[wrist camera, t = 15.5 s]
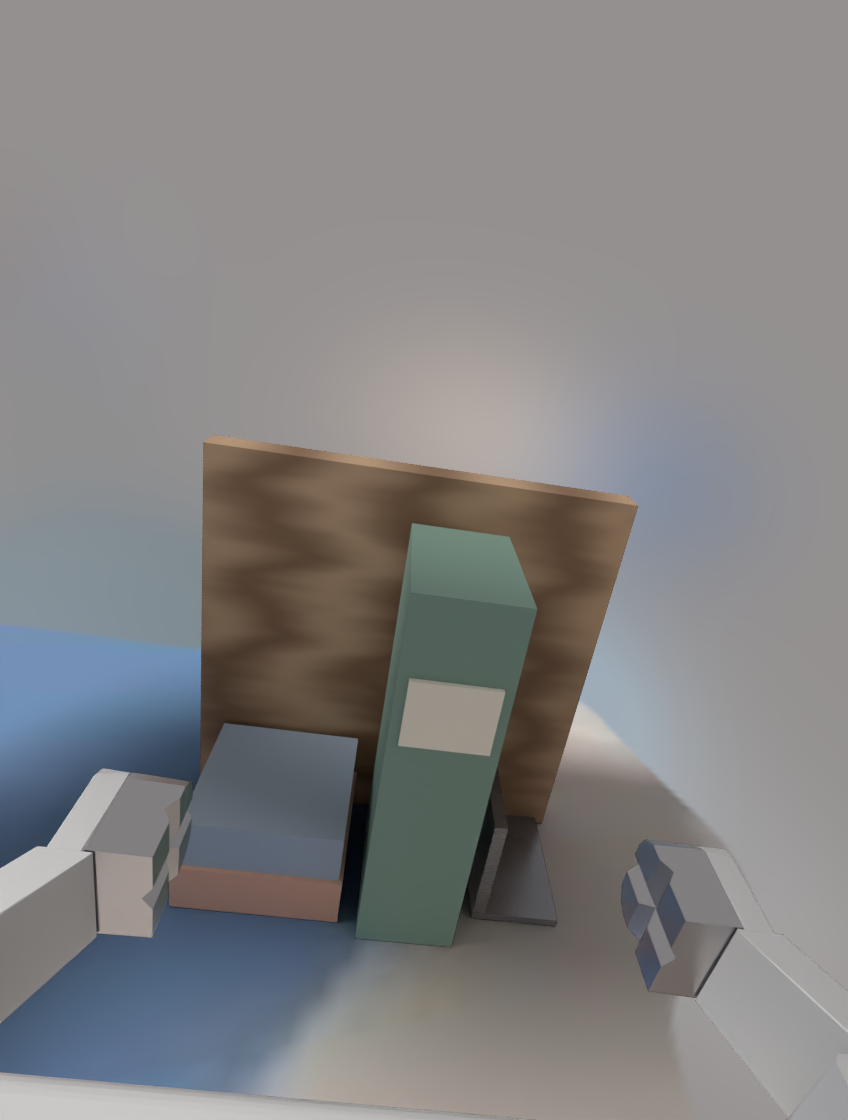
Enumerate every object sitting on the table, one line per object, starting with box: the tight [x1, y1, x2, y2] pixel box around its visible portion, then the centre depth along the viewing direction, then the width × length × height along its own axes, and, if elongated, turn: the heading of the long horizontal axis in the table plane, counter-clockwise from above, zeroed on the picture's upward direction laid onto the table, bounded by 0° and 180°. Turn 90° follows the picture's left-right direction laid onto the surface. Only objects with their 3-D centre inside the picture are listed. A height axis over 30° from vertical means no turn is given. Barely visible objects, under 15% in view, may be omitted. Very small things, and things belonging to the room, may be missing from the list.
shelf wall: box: [200, 435, 638, 823], centre depth 32 cm, size 20×2×20 cm, turn 91°
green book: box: [355, 523, 537, 947], centre depth 28 cm, size 4×7×18 cm, turn 1°
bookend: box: [468, 765, 557, 926], centre depth 32 cm, size 4×6×6 cm, turn 1°
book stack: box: [169, 723, 358, 922], centre depth 31 cm, size 8×7×5 cm
